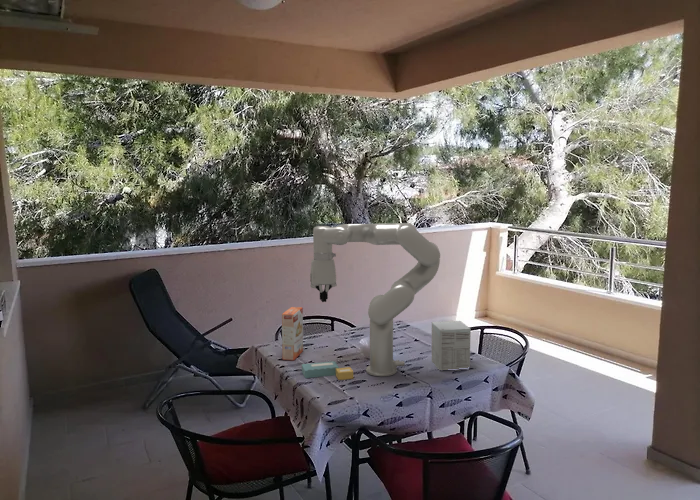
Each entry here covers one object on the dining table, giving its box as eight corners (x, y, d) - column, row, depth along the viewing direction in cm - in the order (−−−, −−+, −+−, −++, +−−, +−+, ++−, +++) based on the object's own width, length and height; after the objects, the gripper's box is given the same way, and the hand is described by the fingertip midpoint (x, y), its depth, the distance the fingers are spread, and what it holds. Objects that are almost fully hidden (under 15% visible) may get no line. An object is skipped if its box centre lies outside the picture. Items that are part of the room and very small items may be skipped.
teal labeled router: (335, 368, 226) (334, 360, 225) (339, 374, 218) (339, 367, 218) (301, 371, 222) (301, 364, 222) (305, 378, 215) (304, 370, 214)
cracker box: (295, 361, 235) (293, 314, 232) (281, 360, 236) (280, 313, 234) (304, 351, 249) (303, 306, 246) (291, 350, 250) (290, 306, 247)
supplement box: (470, 370, 222) (471, 328, 219) (439, 371, 220) (439, 330, 218) (460, 359, 235) (460, 320, 233) (430, 361, 233) (431, 321, 231)
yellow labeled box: (350, 374, 218) (350, 366, 218) (353, 378, 214) (353, 371, 213) (335, 375, 217) (335, 368, 216) (338, 380, 212) (338, 372, 212)
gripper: (338, 254, 223) (339, 298, 225) (303, 256, 219) (304, 300, 222) (343, 257, 216) (343, 302, 218) (306, 258, 212) (307, 304, 214)
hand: (323, 301), depth 220 cm, fingers closed
